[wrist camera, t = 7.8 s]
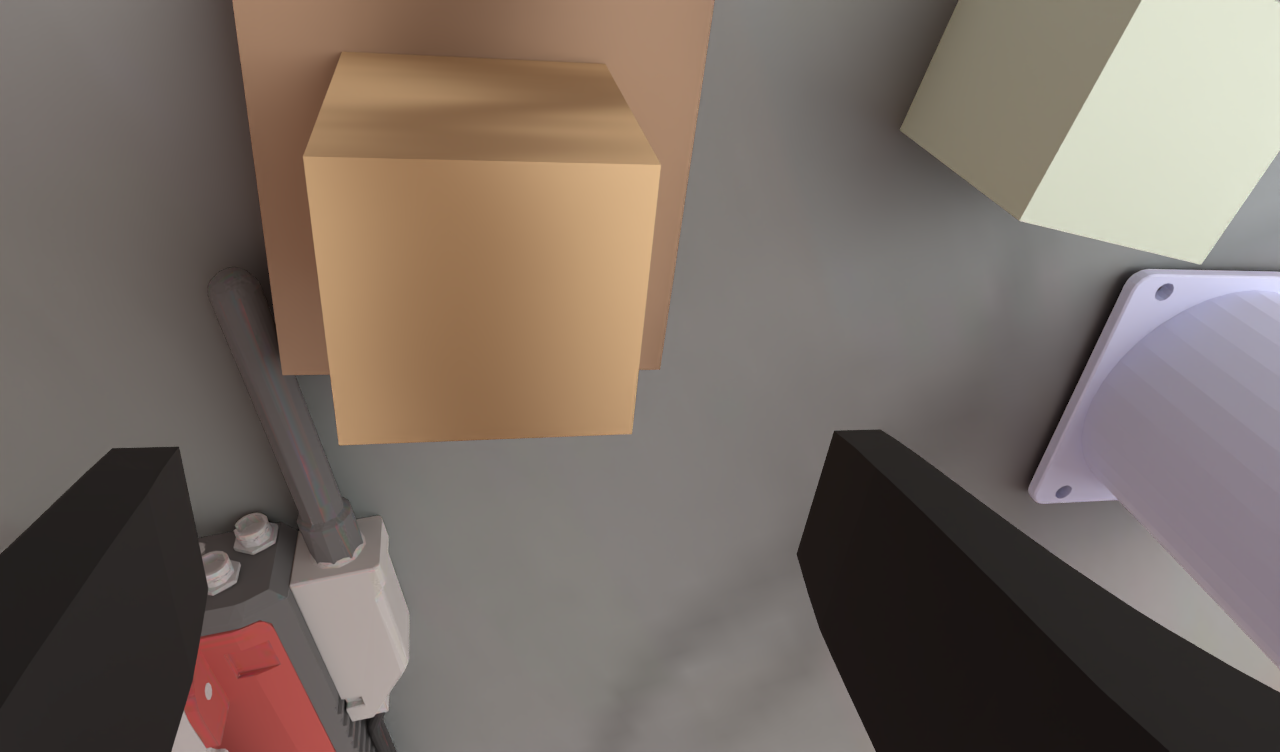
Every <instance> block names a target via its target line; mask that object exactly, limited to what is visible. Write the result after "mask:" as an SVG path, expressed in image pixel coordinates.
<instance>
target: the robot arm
mask: <svg viewBox="0 0 1280 752" xmlns="http://www.w3.org/2000/svg"><path fill="white" fill-rule="evenodd" d="M1161 286H1162V287H1161ZM1159 287H1161V288H1160V289H1159ZM1158 289H1159V290H1158ZM1157 290H1158V291H1157ZM1156 291H1157V292H1156ZM1028 492H1029V495H1030V496H1031V497H1032V498H1033V500H1034V501H1035V502H1037V503H1040V504H1049V503H1068V502H1088V501H1107V500H1119V501H1120V502H1121V503H1122V504H1123V505H1124V507H1125V508H1126V509H1127V510H1128V511H1129V512H1130V513H1131V514H1132V515H1133V516H1134V517H1135V518H1136V519H1137V520H1138V521H1139V522H1140V523H1141V524H1142V525H1143V526H1144V528H1145V529H1146V530H1147V531H1148V532H1149V533H1150V534H1151V535H1152V536H1153V537H1154V538H1155V539H1156V540H1157V541H1158V542H1159V543H1160V544H1161V545H1162V546H1163V547H1164V549H1165V550H1166V551H1167V552H1168V553H1169V554H1170V555H1171V556H1172V557H1173V558H1174V559H1175V560H1176V561H1177V562H1178V563H1179V564H1180V565H1181V566H1182V567H1183V569H1184V570H1185V571H1186V572H1187V573H1188V574H1189V575H1190V576H1191V577H1192V578H1193V579H1194V580H1195V581H1196V582H1197V583H1198V584H1199V585H1200V586H1201V587H1202V588H1203V590H1204V591H1205V592H1206V593H1207V594H1208V595H1209V596H1210V597H1211V598H1212V599H1213V600H1214V601H1215V602H1216V603H1217V604H1218V605H1219V606H1220V607H1221V608H1222V609H1223V611H1224V612H1225V613H1226V614H1227V615H1228V616H1229V617H1230V618H1231V619H1232V620H1233V621H1234V622H1235V623H1236V624H1237V625H1238V626H1239V627H1240V628H1241V629H1242V630H1243V632H1244V633H1245V634H1246V635H1247V636H1248V637H1249V638H1250V639H1251V640H1252V641H1253V642H1254V643H1255V644H1256V645H1257V646H1258V647H1259V648H1260V649H1261V650H1262V652H1263V653H1264V654H1265V655H1266V656H1267V657H1268V658H1269V659H1270V660H1271V661H1272V662H1273V663H1274V664H1275V665H1276V666H1277V667H1278V668H1279V669H1280V272H1273V271H1225V270H1178V269H1145V270H1141V271H1139V272H1137V273H1135V274H1133V275H1132V276H1131V277H1130V278H1129V279H1128V280H1127V282H1126V283H1125V285H1124V287H1123V289H1122V291H1121V293H1120V295H1119V297H1118V299H1117V302H1116V304H1115V306H1114V308H1113V310H1112V312H1111V314H1110V316H1109V318H1108V321H1107V323H1106V325H1105V327H1104V329H1103V331H1102V333H1101V335H1100V337H1099V339H1098V342H1097V344H1096V346H1095V348H1094V350H1093V352H1092V354H1091V356H1090V358H1089V361H1088V363H1087V365H1086V367H1085V369H1084V371H1083V373H1082V375H1081V377H1080V380H1079V382H1078V384H1077V386H1076V388H1075V390H1074V392H1073V394H1072V396H1071V399H1070V401H1069V403H1068V405H1067V407H1066V409H1065V411H1064V413H1063V415H1062V418H1061V420H1060V422H1059V424H1058V426H1057V428H1056V430H1055V432H1054V434H1053V437H1052V439H1051V441H1050V443H1049V445H1048V447H1047V449H1046V451H1045V453H1044V455H1043V458H1042V460H1041V462H1040V464H1039V466H1038V468H1037V470H1036V472H1035V474H1034V477H1033V479H1032V481H1031V483H1030V485H1029V488H1028ZM797 557H798V560H799V564H800V567H801V570H802V574H803V577H804V581H805V584H806V588H807V591H808V594H809V598H810V601H811V604H812V607H813V610H814V613H815V616H816V619H817V622H818V625H819V628H820V631H821V633H822V635H823V638H824V640H825V642H826V644H827V647H828V649H829V651H830V653H831V656H832V658H833V660H834V662H835V664H836V667H837V669H838V671H839V673H840V675H841V677H842V680H843V682H844V684H845V686H846V688H847V691H848V693H849V695H850V697H851V699H852V701H853V703H854V706H855V708H856V710H857V712H858V714H859V716H860V718H861V721H862V723H863V725H864V727H865V729H866V731H867V733H868V736H869V738H870V740H871V742H872V744H873V746H874V748H875V751H876V752H1280V692H1278V691H1276V690H1274V689H1272V688H1270V687H1268V686H1267V685H1265V684H1263V683H1261V682H1259V681H1257V680H1255V679H1254V678H1252V677H1250V676H1248V675H1246V674H1244V673H1243V672H1241V671H1239V670H1237V669H1235V668H1233V667H1232V666H1230V665H1228V664H1226V663H1225V662H1223V661H1221V660H1220V659H1218V658H1216V657H1214V656H1213V655H1211V654H1209V653H1208V652H1206V651H1204V650H1202V649H1201V648H1199V647H1197V646H1196V645H1194V644H1192V643H1190V642H1189V641H1187V640H1185V639H1183V638H1182V637H1180V636H1178V635H1177V634H1175V633H1173V632H1171V631H1170V630H1168V629H1166V628H1165V627H1163V626H1161V625H1160V624H1158V623H1157V622H1155V621H1153V620H1152V619H1150V618H1148V617H1147V616H1145V615H1144V614H1142V613H1140V612H1139V611H1137V610H1136V609H1134V608H1132V607H1131V606H1129V605H1128V604H1126V603H1125V602H1123V601H1122V600H1120V599H1119V598H1117V597H1116V596H1114V595H1113V594H1111V593H1110V592H1108V591H1107V590H1105V589H1104V588H1102V587H1101V586H1099V585H1098V584H1096V583H1095V582H1093V581H1092V580H1090V579H1089V578H1087V577H1086V576H1084V575H1083V574H1081V573H1080V572H1078V571H1077V570H1075V569H1074V568H1072V567H1071V566H1069V565H1068V564H1066V563H1065V562H1064V561H1062V560H1061V559H1059V558H1058V557H1056V556H1055V555H1054V554H1052V553H1051V552H1049V551H1048V550H1046V549H1045V548H1044V547H1042V546H1041V545H1039V544H1038V543H1037V542H1035V541H1034V540H1032V539H1031V538H1030V537H1028V536H1027V535H1025V534H1024V533H1023V532H1021V531H1020V530H1019V529H1017V528H1016V527H1014V526H1013V525H1012V524H1010V523H1009V522H1008V521H1006V520H1005V519H1003V518H1002V517H1001V516H999V515H998V514H997V513H995V512H994V511H993V510H991V509H990V508H989V507H987V506H986V505H985V504H983V503H982V502H980V501H979V500H978V499H976V498H975V497H974V496H972V495H971V494H970V493H968V492H967V491H966V490H964V489H963V488H962V487H960V486H959V485H958V484H956V483H955V482H954V481H952V480H951V479H950V478H948V477H947V476H946V475H944V474H943V473H942V472H940V471H939V470H938V469H936V468H935V467H934V466H932V465H931V464H929V463H928V462H927V461H925V460H924V459H923V458H921V457H920V456H919V455H917V454H916V453H914V452H913V451H912V450H910V449H909V448H907V447H906V446H904V445H903V444H902V443H900V442H899V441H897V440H896V439H894V438H893V437H891V436H890V435H888V434H886V433H885V432H883V431H882V430H848V431H834V433H833V437H832V440H831V443H830V446H829V450H828V453H827V456H826V460H825V463H824V466H823V469H822V473H821V476H820V479H819V483H818V486H817V489H816V492H815V496H814V499H813V502H812V506H811V509H810V512H809V515H808V519H807V522H806V525H805V529H804V532H803V535H802V538H801V542H800V545H799V548H798V552H797ZM207 595H208V584H207V579H206V575H205V570H204V565H203V560H202V555H201V551H200V546H199V541H198V536H197V531H196V527H195V522H194V517H193V512H192V507H191V503H190V498H189V493H188V488H187V483H186V479H185V474H184V469H183V464H182V459H181V454H180V450H179V447H152V448H112V449H111V450H110V451H109V452H108V453H107V454H106V455H105V456H104V457H102V458H101V459H100V460H99V461H98V462H97V463H96V464H95V465H94V466H93V467H92V468H90V469H89V470H88V471H87V472H86V473H85V474H84V475H83V476H82V477H81V478H80V479H79V480H78V481H77V482H76V483H75V484H74V485H72V486H71V487H70V488H69V489H68V490H67V491H66V492H65V493H64V494H63V495H62V496H61V497H60V498H59V499H58V500H57V501H56V502H55V503H54V504H53V505H52V506H51V507H50V508H49V509H47V510H46V511H45V512H44V513H43V514H42V515H41V516H40V517H39V518H38V519H37V520H36V521H35V522H34V523H33V524H32V525H31V526H30V527H29V528H28V529H27V530H25V531H24V532H23V533H22V534H21V535H20V536H19V537H18V538H17V539H16V540H15V541H14V542H13V543H12V544H11V545H10V546H9V547H8V548H7V549H5V550H4V551H3V552H2V553H1V554H0V752H171V751H172V748H173V744H174V741H175V738H176V735H177V731H178V728H179V725H180V721H181V718H182V715H183V711H184V708H185V705H186V701H187V698H188V695H189V691H190V688H191V684H192V681H193V676H194V671H195V665H196V660H197V654H198V649H199V643H200V638H201V632H202V626H203V619H204V613H205V607H206V601H207Z"/></svg>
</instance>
